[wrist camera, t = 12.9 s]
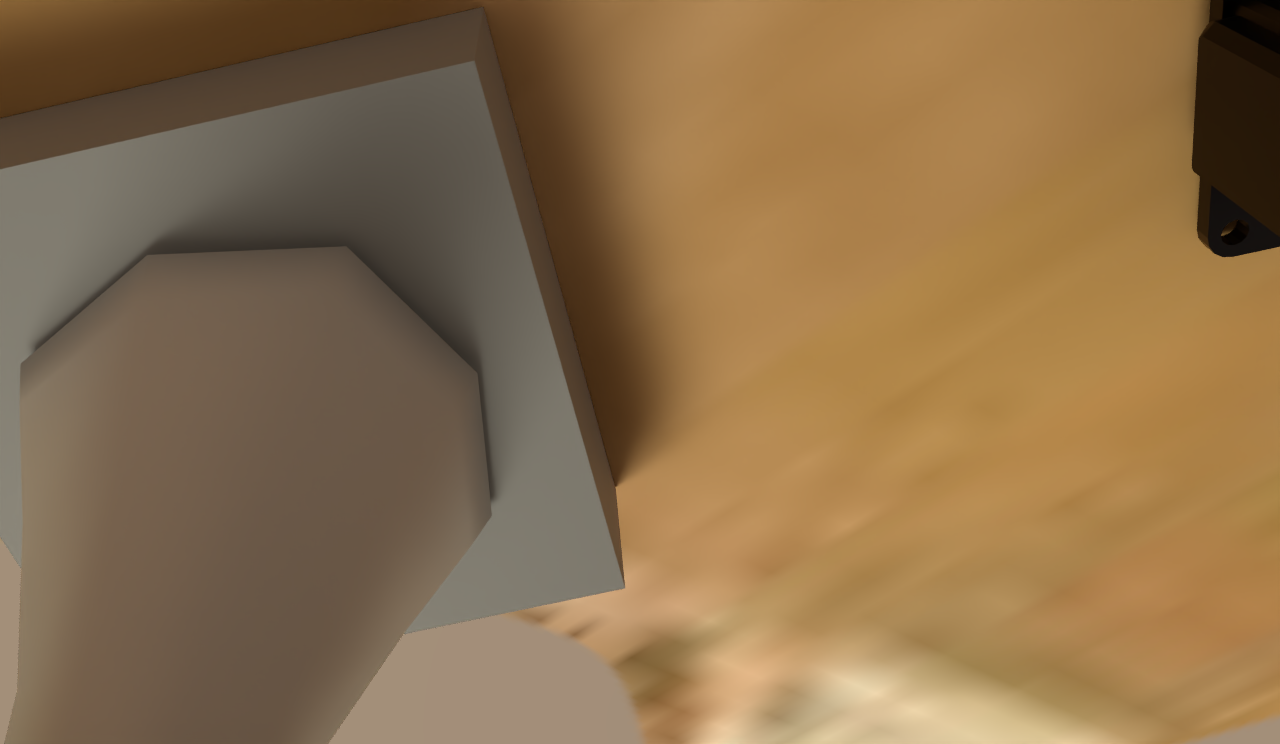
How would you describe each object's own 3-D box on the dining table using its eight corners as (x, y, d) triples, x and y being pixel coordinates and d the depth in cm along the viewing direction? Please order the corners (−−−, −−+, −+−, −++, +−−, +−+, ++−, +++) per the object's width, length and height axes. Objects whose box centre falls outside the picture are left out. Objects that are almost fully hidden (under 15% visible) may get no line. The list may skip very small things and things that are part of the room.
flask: (560, 527, 20) (576, 1148, 12) (191, 646, 21) (-45, 1308, 13) (377, 163, 16) (205, 687, 8) (-62, 325, 17) (-642, 957, 9)
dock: (483, 6, 18) (474, 61, 16) (615, 489, 24) (624, 587, 21) (-109, 143, 19) (-209, 217, 16) (151, 587, 24) (104, 696, 21)
